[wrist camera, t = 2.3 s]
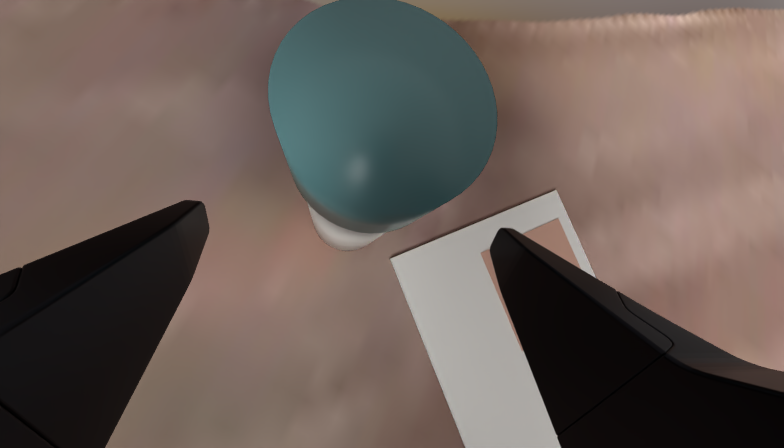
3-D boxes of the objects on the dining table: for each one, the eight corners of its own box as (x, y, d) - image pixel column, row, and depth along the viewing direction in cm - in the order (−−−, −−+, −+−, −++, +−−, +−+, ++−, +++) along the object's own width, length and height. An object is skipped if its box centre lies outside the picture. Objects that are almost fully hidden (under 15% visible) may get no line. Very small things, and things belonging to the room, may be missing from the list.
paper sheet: (663, 431, 21) (667, 434, 21) (508, 556, 17) (511, 561, 17) (554, 190, 22) (557, 189, 22) (389, 258, 19) (390, 258, 18)
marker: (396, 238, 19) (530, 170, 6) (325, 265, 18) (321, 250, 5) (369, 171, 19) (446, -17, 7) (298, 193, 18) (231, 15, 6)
